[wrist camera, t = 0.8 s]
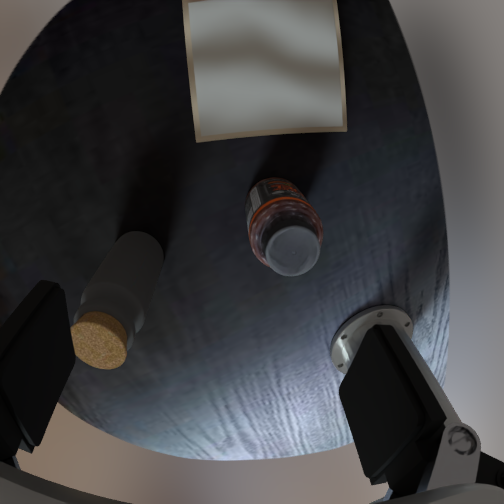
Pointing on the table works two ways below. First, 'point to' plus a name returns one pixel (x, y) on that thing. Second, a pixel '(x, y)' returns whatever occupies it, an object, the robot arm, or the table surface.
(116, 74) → the table surface
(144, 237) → the bottle
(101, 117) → the table surface
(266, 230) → the supplement bottle
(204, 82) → the grey square box
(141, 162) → the table surface
